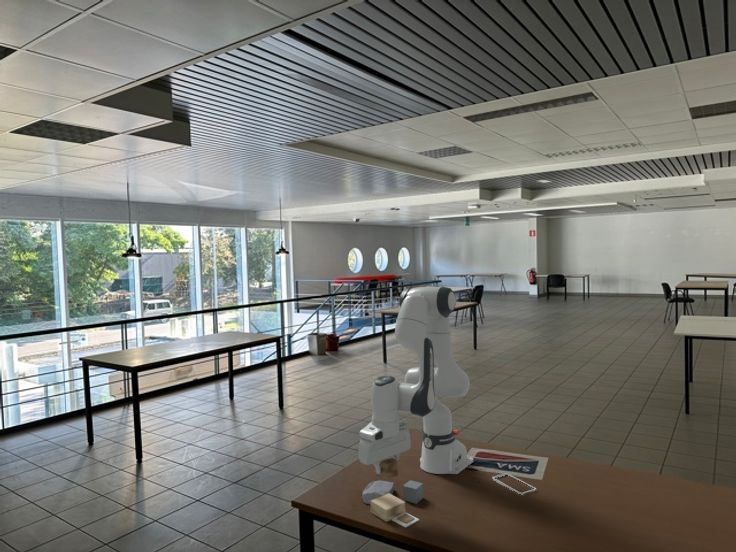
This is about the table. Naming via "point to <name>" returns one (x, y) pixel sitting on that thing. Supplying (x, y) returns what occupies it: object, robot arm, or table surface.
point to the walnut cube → (388, 468)
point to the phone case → (509, 486)
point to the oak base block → (387, 507)
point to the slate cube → (413, 491)
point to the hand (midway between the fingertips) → (386, 470)
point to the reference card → (405, 519)
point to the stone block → (377, 490)
